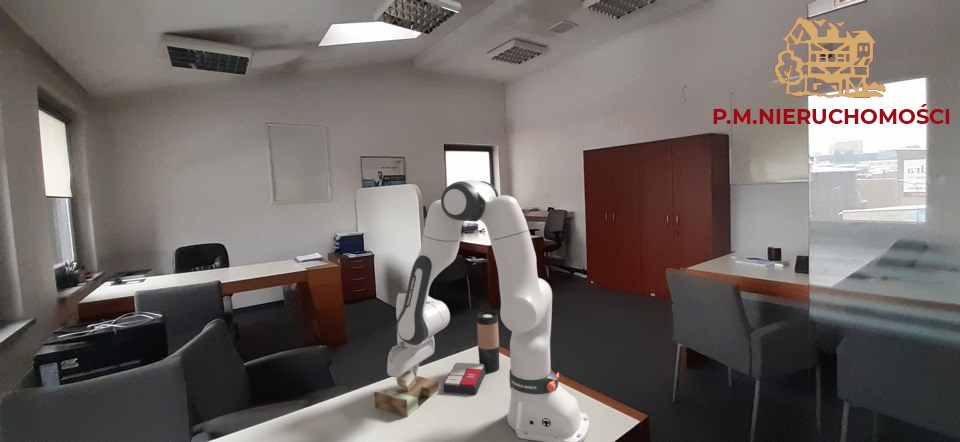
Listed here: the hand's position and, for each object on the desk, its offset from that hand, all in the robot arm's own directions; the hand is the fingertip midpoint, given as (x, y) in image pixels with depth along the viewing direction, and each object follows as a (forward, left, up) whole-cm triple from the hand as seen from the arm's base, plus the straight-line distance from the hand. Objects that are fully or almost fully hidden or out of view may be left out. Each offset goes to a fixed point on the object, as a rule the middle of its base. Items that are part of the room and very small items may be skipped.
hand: (412, 378), depth 127 cm
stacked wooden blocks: (-1, +3, -5) cm, 6 cm away
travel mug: (-16, -25, -5) cm, 30 cm away
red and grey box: (-13, -12, -5) cm, 18 cm away
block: (0, +3, -1) cm, 3 cm away
